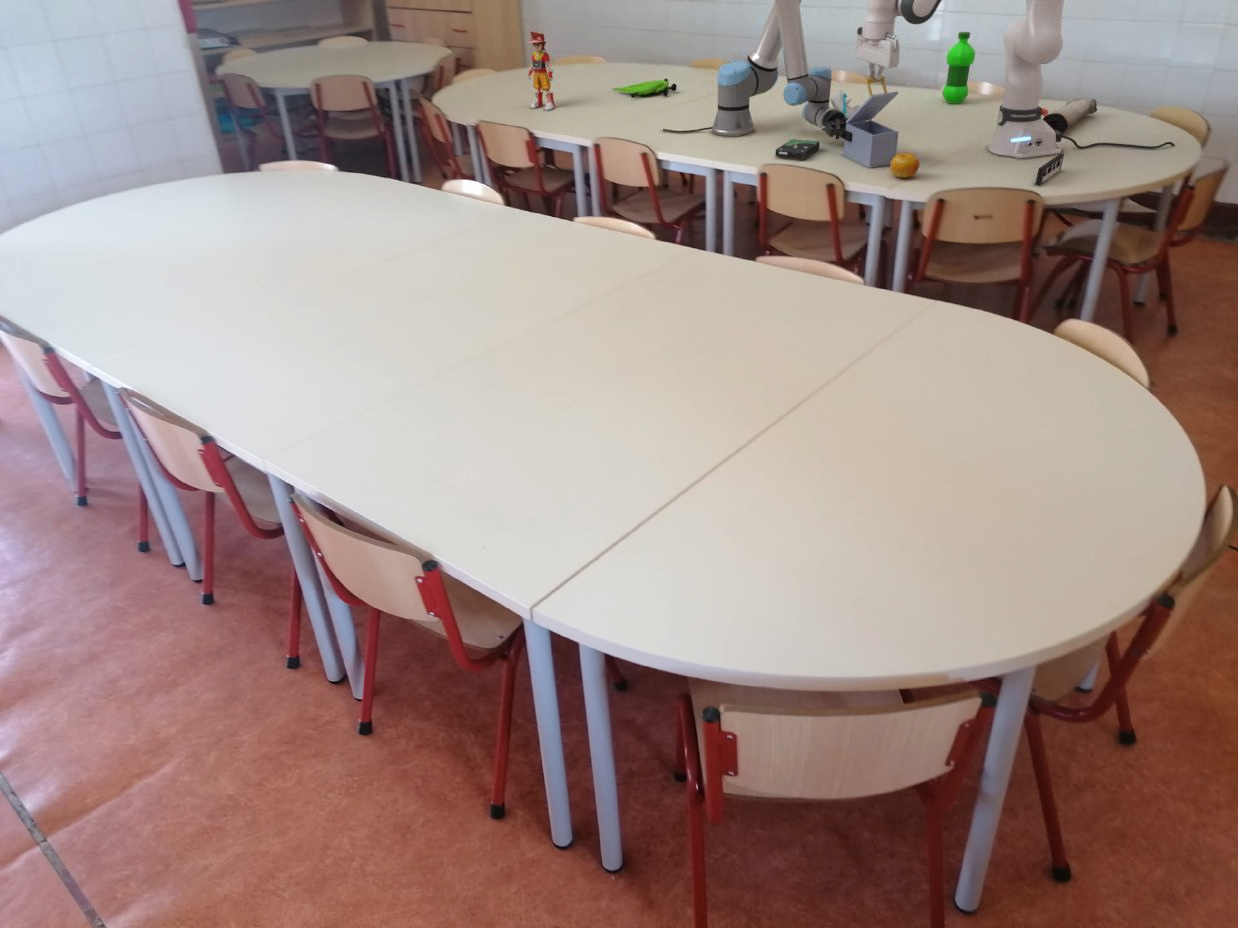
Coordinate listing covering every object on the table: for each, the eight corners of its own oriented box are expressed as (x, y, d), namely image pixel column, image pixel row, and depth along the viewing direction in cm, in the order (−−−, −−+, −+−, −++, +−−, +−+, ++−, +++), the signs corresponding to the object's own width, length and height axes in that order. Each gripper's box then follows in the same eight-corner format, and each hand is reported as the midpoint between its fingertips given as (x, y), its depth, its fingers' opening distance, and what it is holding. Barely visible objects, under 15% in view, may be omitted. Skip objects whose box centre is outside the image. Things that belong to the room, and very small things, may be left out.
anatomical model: (825, 90, 346) (851, 83, 346) (828, 117, 352) (853, 110, 352) (836, 99, 334) (863, 92, 333) (839, 127, 340) (865, 120, 339)
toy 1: (525, 109, 381) (517, 32, 364) (534, 104, 388) (527, 28, 371) (550, 110, 377) (543, 32, 360) (559, 105, 384) (553, 28, 367)
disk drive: (803, 161, 302) (819, 149, 312) (803, 153, 300) (820, 140, 310) (774, 158, 306) (791, 146, 316) (775, 149, 305) (792, 137, 315)
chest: (894, 164, 294) (898, 131, 288) (869, 168, 292) (872, 135, 286) (868, 151, 307) (871, 120, 302) (843, 155, 305) (846, 123, 300)
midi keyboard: (1039, 185, 269) (1043, 168, 266) (1035, 184, 270) (1038, 168, 267) (1060, 170, 279) (1064, 154, 277) (1056, 169, 280) (1060, 153, 277)
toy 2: (686, 85, 398) (631, 84, 414) (685, 72, 395) (629, 72, 411) (651, 104, 381) (596, 103, 397) (650, 92, 378) (594, 91, 394)
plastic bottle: (973, 101, 354) (984, 32, 339) (955, 106, 349) (966, 36, 335) (952, 97, 361) (962, 29, 346) (934, 102, 356) (944, 33, 342)
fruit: (884, 168, 279) (900, 145, 276) (886, 170, 287) (902, 148, 284) (906, 183, 278) (923, 160, 275) (908, 185, 286) (924, 162, 283)
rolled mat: (1064, 103, 333) (1089, 85, 324) (1077, 124, 333) (1102, 107, 325) (1032, 125, 315) (1057, 107, 307) (1046, 147, 316) (1072, 129, 307)
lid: (898, 93, 284) (892, 70, 284) (872, 97, 282) (866, 74, 282) (871, 119, 301) (866, 98, 302) (846, 123, 299) (840, 101, 300)
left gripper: (857, 127, 321) (892, 142, 304) (802, 135, 316) (834, 151, 299) (859, 105, 317) (895, 119, 299) (803, 113, 312) (835, 128, 294)
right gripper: (907, 34, 271) (901, 83, 279) (870, 25, 287) (866, 71, 295) (888, 37, 270) (883, 85, 278) (853, 28, 286) (849, 74, 294)
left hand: (864, 135), depth 299 cm, fingers closed on chest, 9 cm apart
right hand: (874, 78), depth 287 cm, fingers closed
